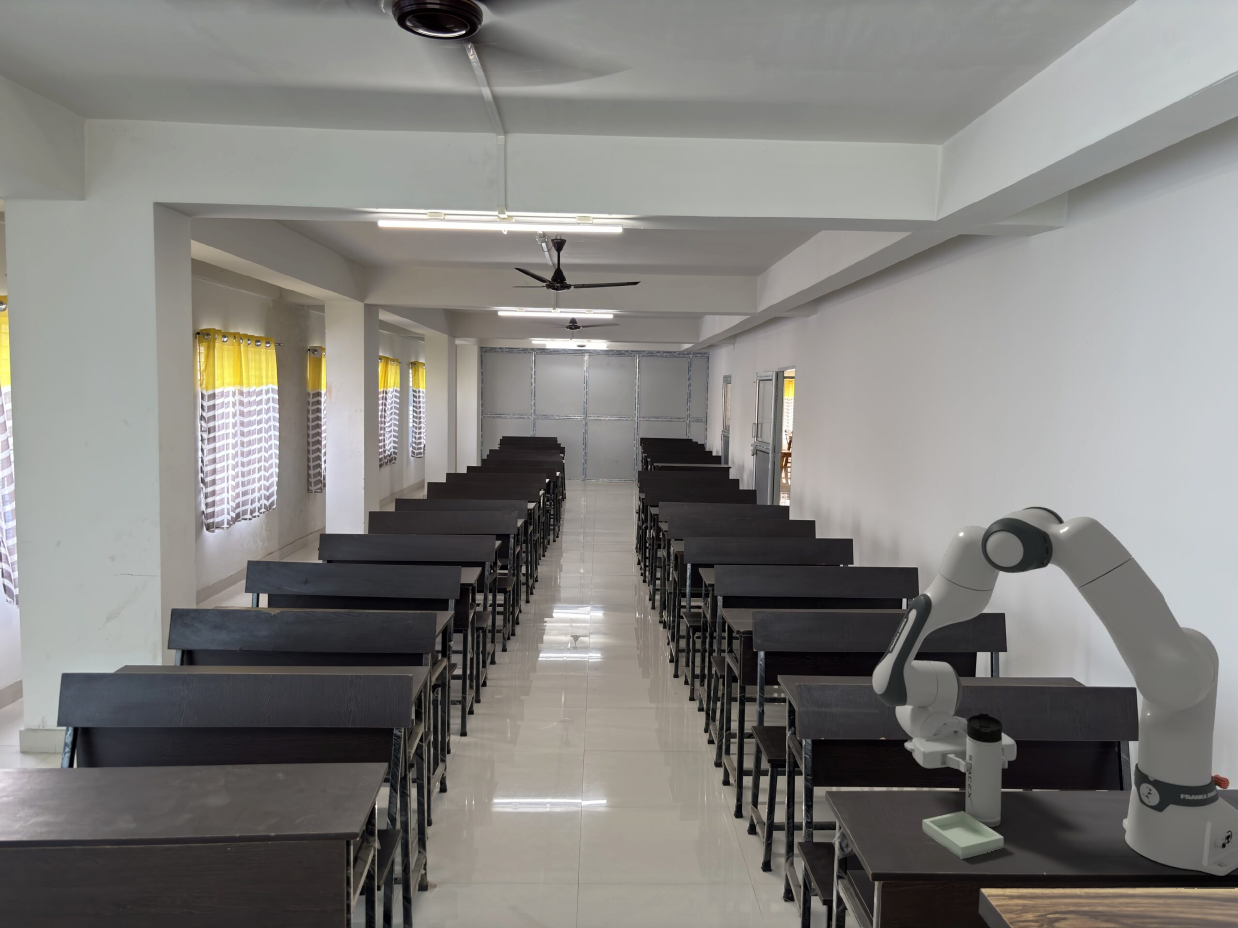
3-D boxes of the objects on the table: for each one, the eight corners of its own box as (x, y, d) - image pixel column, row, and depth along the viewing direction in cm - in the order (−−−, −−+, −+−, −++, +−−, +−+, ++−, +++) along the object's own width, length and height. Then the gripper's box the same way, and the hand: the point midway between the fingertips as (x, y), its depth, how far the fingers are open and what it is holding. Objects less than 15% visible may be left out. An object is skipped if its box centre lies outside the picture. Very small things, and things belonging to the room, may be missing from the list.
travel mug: (999, 814, 166) (1001, 714, 164) (1001, 830, 160) (1003, 727, 158) (965, 808, 168) (966, 711, 166) (965, 824, 162) (967, 723, 160)
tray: (962, 821, 163) (962, 810, 163) (1003, 848, 153) (1003, 836, 153) (922, 830, 160) (922, 819, 160) (961, 858, 150) (961, 847, 150)
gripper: (900, 727, 174) (935, 755, 160) (991, 719, 177) (1034, 745, 163) (900, 756, 174) (935, 787, 161) (991, 748, 177) (1033, 777, 164)
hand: (986, 766), depth 162 cm, fingers closed on travel mug, 6 cm apart
